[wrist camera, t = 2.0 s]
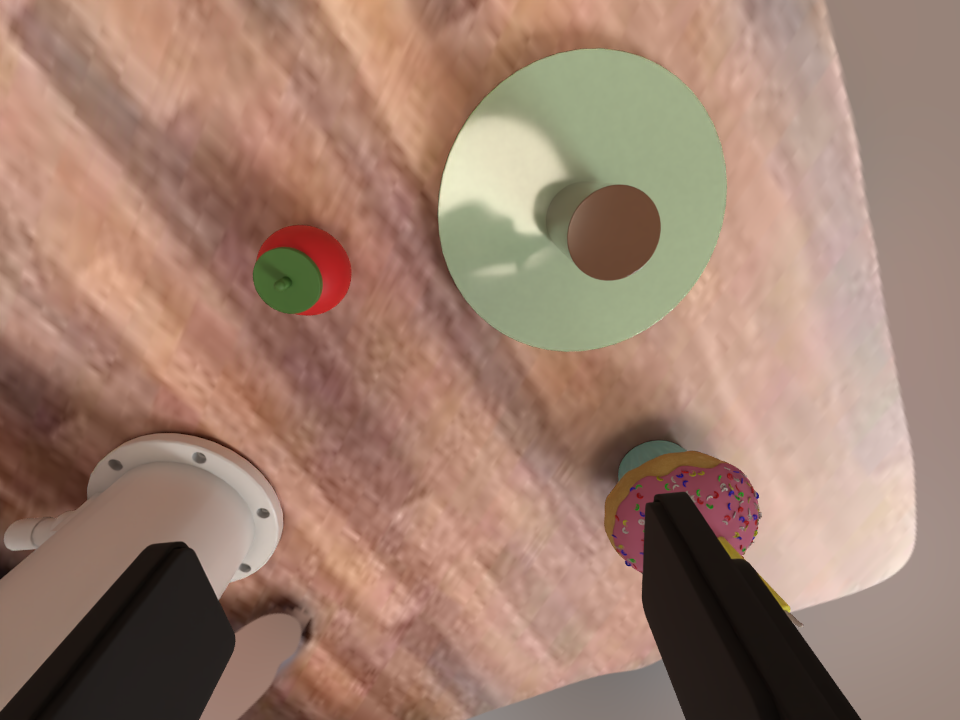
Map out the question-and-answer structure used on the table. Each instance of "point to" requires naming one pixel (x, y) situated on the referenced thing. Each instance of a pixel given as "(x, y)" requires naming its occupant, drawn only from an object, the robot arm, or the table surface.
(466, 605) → the table surface
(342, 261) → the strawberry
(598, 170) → the lid
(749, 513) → the sprinkled cake with candle
